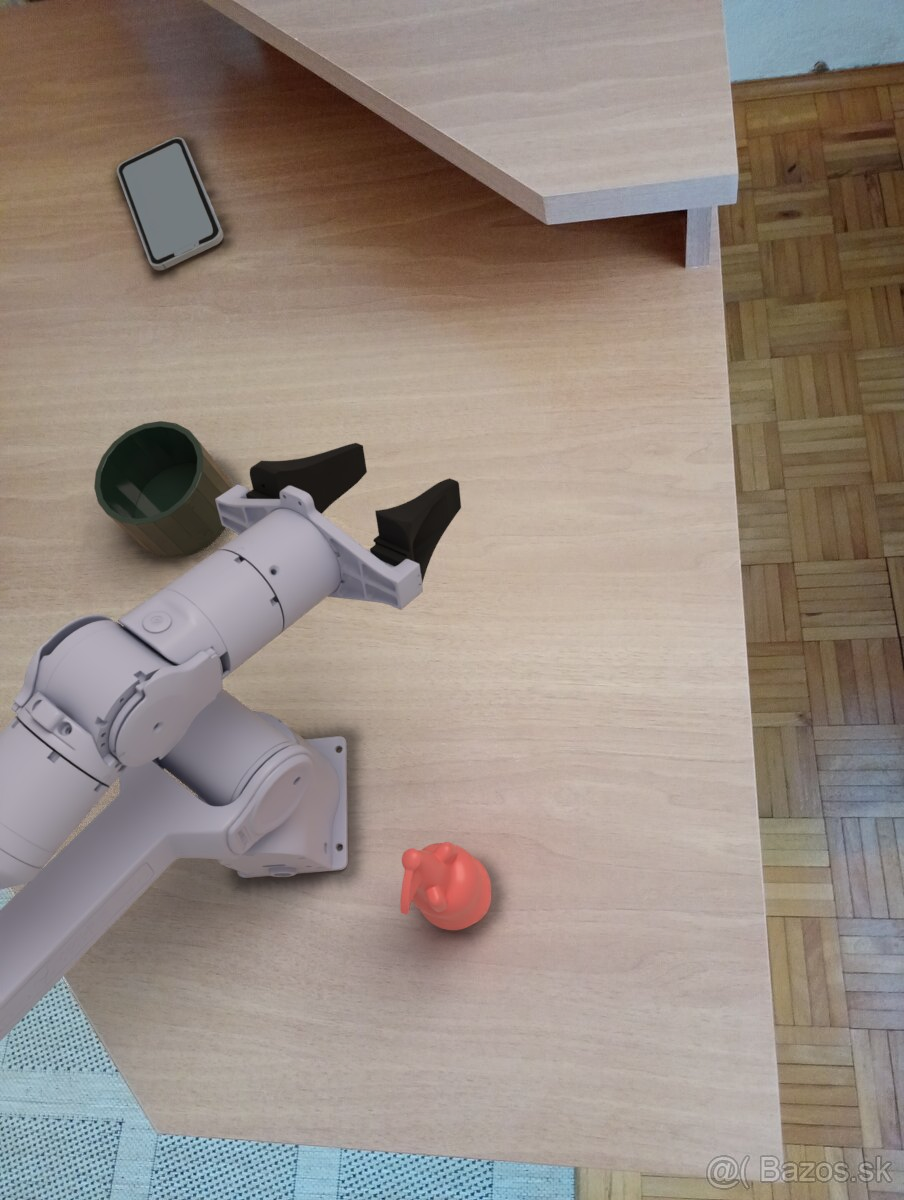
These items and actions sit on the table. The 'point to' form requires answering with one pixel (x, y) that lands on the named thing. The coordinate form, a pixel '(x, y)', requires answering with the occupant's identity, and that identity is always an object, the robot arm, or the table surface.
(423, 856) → the figurine
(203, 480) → the cup
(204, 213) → the smartphone
